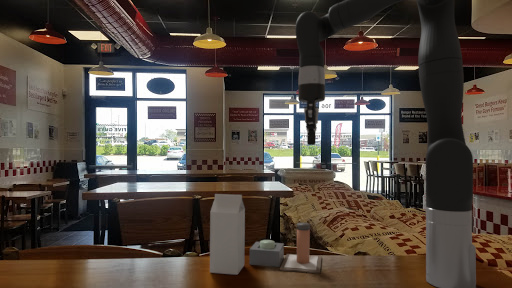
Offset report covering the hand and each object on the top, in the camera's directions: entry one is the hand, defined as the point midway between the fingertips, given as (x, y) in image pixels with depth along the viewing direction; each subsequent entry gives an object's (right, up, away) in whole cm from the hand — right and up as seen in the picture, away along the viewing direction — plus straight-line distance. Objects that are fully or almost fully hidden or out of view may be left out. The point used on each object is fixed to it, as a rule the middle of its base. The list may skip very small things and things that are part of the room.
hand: (311, 144), depth 98 cm
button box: (-13, -32, -4) cm, 35 cm away
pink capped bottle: (-3, -31, -6) cm, 32 cm away
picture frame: (-3, -32, -6) cm, 33 cm away
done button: (-13, -32, -4) cm, 34 cm away
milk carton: (-23, -32, -11) cm, 41 cm away
